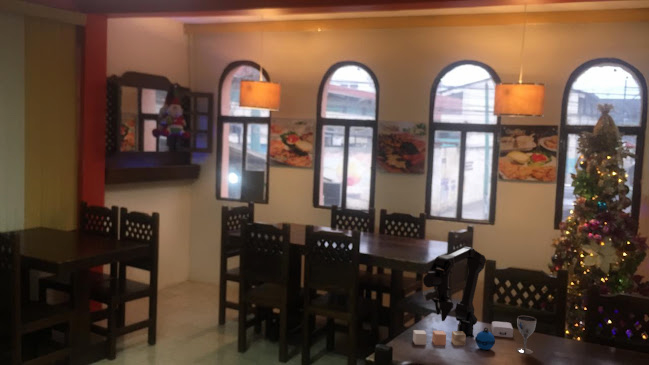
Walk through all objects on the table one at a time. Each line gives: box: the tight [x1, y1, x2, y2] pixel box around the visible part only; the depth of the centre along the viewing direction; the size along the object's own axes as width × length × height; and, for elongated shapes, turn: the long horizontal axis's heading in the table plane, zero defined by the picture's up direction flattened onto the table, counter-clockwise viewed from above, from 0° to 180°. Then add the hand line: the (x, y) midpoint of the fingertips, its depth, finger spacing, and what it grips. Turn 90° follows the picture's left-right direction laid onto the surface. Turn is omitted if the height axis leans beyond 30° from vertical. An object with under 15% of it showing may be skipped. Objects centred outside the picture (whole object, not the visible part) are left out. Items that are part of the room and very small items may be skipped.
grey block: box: [412, 329, 428, 346], centre depth 277 cm, size 5×5×5 cm
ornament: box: [474, 327, 496, 351], centre depth 272 cm, size 9×9×10 cm
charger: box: [491, 321, 514, 338], centre depth 298 cm, size 5×9×15 cm
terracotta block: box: [431, 330, 447, 346], centre depth 278 cm, size 5×5×5 cm
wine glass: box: [515, 315, 537, 355], centre depth 272 cm, size 8×8×15 cm
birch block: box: [450, 330, 466, 346], centre depth 278 cm, size 5×5×5 cm
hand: (440, 317), depth 277 cm, fingers open, 9 cm apart
